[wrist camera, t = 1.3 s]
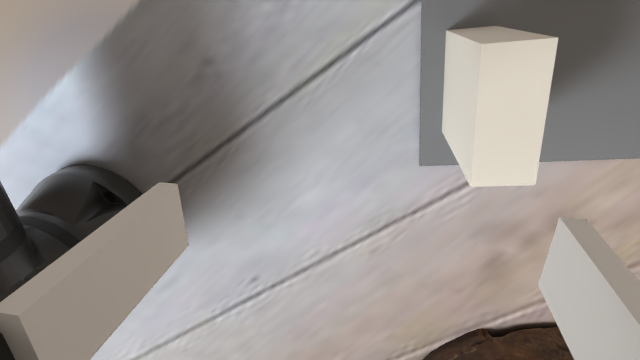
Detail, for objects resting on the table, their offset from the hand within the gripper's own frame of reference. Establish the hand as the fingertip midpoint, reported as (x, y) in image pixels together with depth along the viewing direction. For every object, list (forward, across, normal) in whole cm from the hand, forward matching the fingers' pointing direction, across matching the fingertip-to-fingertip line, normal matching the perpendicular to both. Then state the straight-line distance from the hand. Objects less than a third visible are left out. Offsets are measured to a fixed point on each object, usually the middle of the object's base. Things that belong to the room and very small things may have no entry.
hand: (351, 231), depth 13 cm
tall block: (+25, -8, -1) cm, 26 cm away
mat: (+26, -14, -1) cm, 29 cm away
